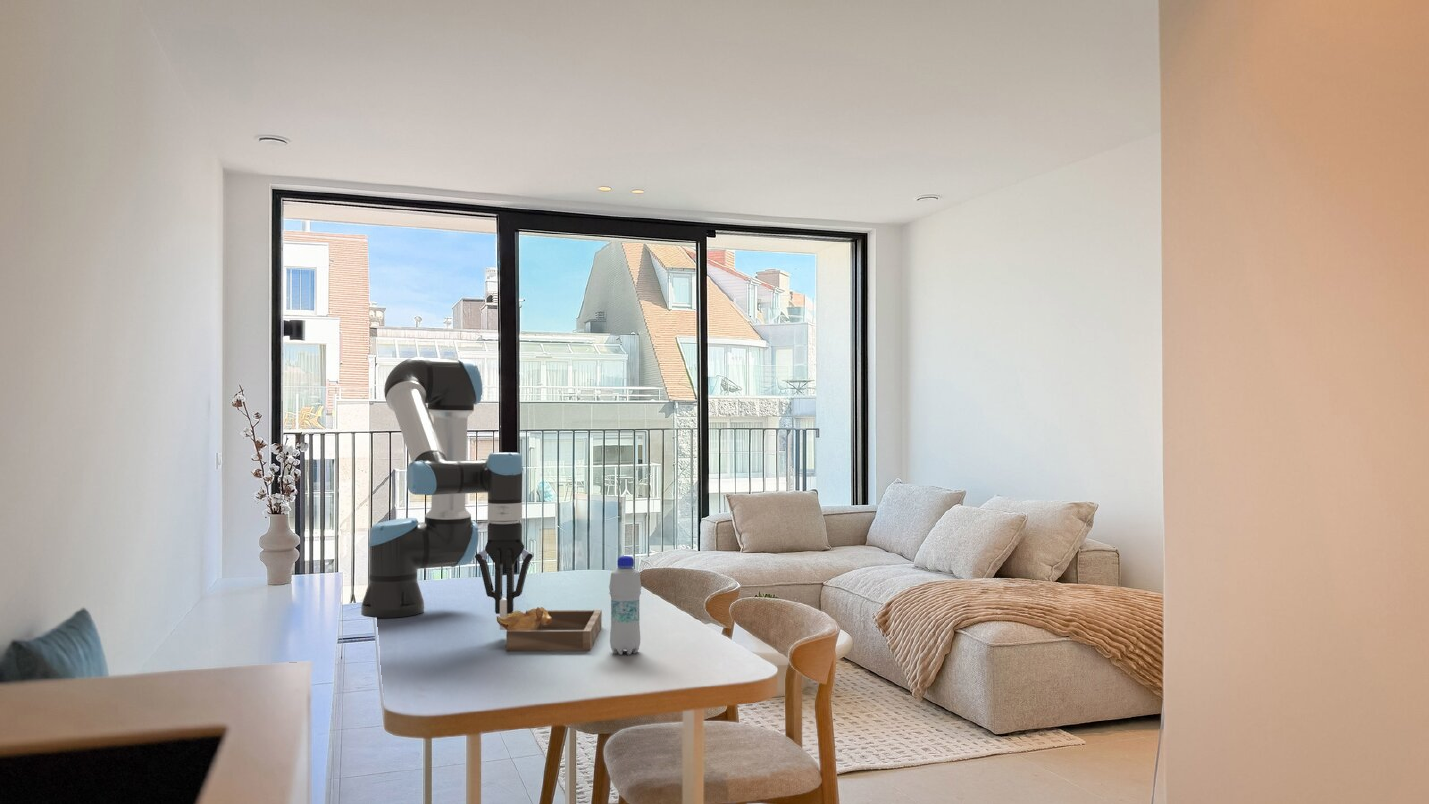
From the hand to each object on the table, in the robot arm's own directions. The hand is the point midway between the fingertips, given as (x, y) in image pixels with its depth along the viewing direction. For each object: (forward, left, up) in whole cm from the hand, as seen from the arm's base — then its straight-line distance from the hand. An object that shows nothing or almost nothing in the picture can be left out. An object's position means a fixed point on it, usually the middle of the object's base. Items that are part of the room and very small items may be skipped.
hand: (504, 628), depth 217 cm
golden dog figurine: (+5, +6, -3) cm, 8 cm away
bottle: (+14, +28, -2) cm, 31 cm away
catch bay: (0, +11, -2) cm, 11 cm away
